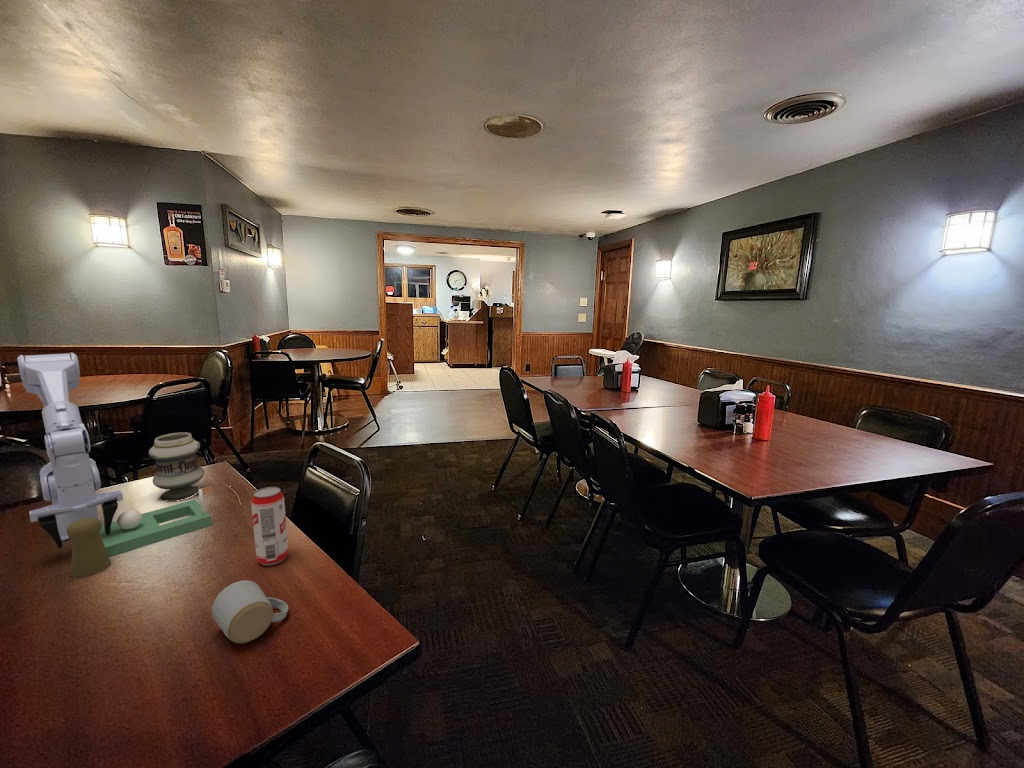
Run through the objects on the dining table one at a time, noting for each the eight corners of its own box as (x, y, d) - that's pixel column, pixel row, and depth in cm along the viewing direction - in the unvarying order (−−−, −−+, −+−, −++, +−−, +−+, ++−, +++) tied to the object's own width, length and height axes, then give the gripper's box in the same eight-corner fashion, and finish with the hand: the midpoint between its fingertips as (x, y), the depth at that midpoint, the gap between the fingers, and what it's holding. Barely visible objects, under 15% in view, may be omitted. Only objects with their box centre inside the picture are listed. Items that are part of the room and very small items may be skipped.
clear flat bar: (201, 514, 110) (198, 489, 109) (213, 511, 112) (210, 485, 111) (202, 515, 110) (198, 489, 108) (214, 512, 112) (211, 486, 110)
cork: (86, 579, 88) (77, 529, 86) (63, 575, 89) (54, 526, 87) (118, 562, 94) (110, 515, 92) (96, 559, 95) (88, 512, 93)
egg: (117, 528, 103) (114, 511, 102) (141, 521, 106) (138, 504, 105) (120, 535, 100) (117, 517, 99) (145, 528, 103) (142, 510, 102)
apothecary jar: (143, 501, 122) (135, 440, 119) (182, 484, 134) (175, 429, 131) (180, 505, 120) (172, 443, 117) (216, 487, 132) (209, 431, 129)
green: (91, 537, 103) (89, 527, 103) (196, 507, 119) (195, 499, 119) (99, 560, 94) (97, 549, 94) (211, 524, 110) (210, 515, 110)
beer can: (256, 570, 92) (249, 500, 89) (257, 555, 97) (251, 488, 94) (289, 562, 94) (283, 494, 92) (288, 548, 100) (283, 483, 97)
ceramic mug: (229, 656, 69) (226, 613, 68) (213, 631, 74) (209, 591, 73) (297, 621, 77) (294, 582, 76) (277, 601, 82) (275, 564, 81)
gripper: (25, 498, 87) (37, 560, 89) (121, 478, 97) (130, 533, 100) (25, 488, 91) (36, 547, 94) (116, 470, 102) (124, 523, 104)
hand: (84, 539), depth 97 cm, fingers open, 7 cm apart
